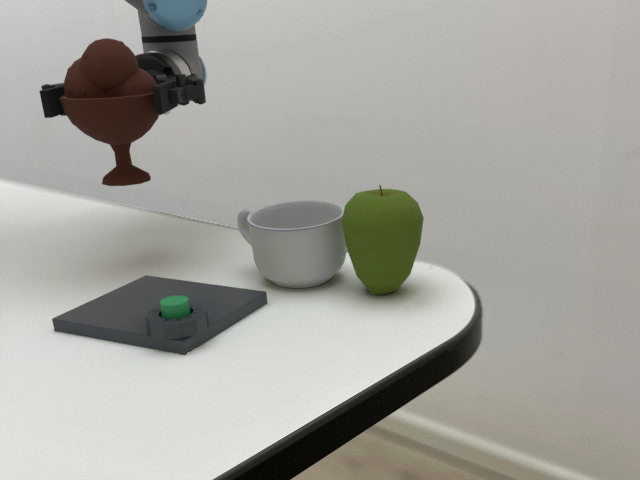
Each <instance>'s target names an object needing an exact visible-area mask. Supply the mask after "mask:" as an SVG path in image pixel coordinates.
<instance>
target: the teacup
mask: <svg viewBox="0 0 640 480" xmlns="http://www.w3.org/2000/svg"><path fill="white" fill-rule="evenodd" d="M344 208H345V206H343V205H342V204H339V203H337V202H335V201H330V200H327V199H326V200H324V199H314V198H313V199H303V198H301V199H291V200H283V201H278V202H274V203H270V204H266V205H264V206H260V207H257V206H253V205H251V206H245V207H244V208H242V209H241V210H240V211H239V213H238V215H237V218H236V219H237V227H238V230H239V233H240V234H241V236H242V238H243V239H244V240H245V242H247V243H248V244H249V245H250V246H251V250H252V255H253V260H254V264H255V266H256V269H257V270H258V272H259V274H261V275H262V276H263V277H265V279H268V280H269V281H271V282H272V283H273V284H275V285H277V286H279V287H282V288H287V289H307V288H312V287H317V286H321V285H323V284H324V283H326V282H328V281H330V280H331V279H332V278H333V276H334V275H335V274H336V273H338V272H339V271H340V270H341V269H342V267H343V266H344V263H345V262H346V261H345V260H346V256H347V247H346V243H345V238H344V233H343V227H342V222H341V221H342V217H343V213H344Z"/></svg>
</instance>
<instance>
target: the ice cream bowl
mask: <svg viewBox="0 0 640 480" xmlns="http://www.w3.org/2000/svg"><path fill="white" fill-rule="evenodd" d="M135 55H136V54H135V53H134V52H133V50H132V49H131V48H130V47H129V46H127V45H126V44H125V43H124V41H122V40H118V39H115V38H108V37H107V38H100V39H95V40H94V41H92V42H91V43H89V44H88V45H87V47H86V48H85V49H84V51H83V53H82V54H81V57H79V58H78V59H76V60H74V61H73V62H72V64H71V65H70V66H69V67H68V68H67V69H66V73H65V77H64V80H63V83H64V92H65V95H63V96H62V97H60V98H59V99H60V102H61V104H62V107H63V109H64V112H65V114H66V115H67V116H66V117H67V119H68V120H69V121H70V123H71V124H72V125H73V126H74V127H76V128H77V129H78V130H79V131H80V132H81V133H82V134H84V135H86V136H87V137H89V138H91V139H93V140H95V141H97V142H100V143H102V144H107V145H108V146H110V148H111V149H112V151H113V152H114V160H115V167H114V168H111V170H110V171H108V172H107V173H106V174H105V175H104V176H103V177H102V181H101V185H104V186H108V187H129V186H135V185H139V184H140V185H141V184H144V183H148V182H151V179H152V176H151V175H150V173H149V172H148V171H146V170H144V169H142V168H140V167H138V166H136V165H134V164H133V162H132V157H131V147H132V143H134V142H136V141H138V140H139V139H142V138H143V137H144V136H145V135H146V134H147V133H148V132H149V131H150V130H151V129H152V128H153V126H154V125H155V123H156V122H157V121H158V120H159V117H160V115H159V114H156V110H155V103H154V96H153V89H152V87H153V86H155V85H157V83H156V82H155V80H154V77H153V76H151V75H150V74H148V73H147V72H146V71H145V70H143V69H140V68H138V62H137V59H136V57H135Z"/></svg>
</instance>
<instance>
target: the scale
mask: <svg viewBox="0 0 640 480" xmlns="http://www.w3.org/2000/svg"><path fill="white" fill-rule="evenodd" d="M170 296H186V297H187V298H188V299H189V305H190V313H191V314H190V315H188V316H185V317H181V318H172V319H167V318H162V313H161V307H160V301H161V300H162V299H164V298H166V297H170ZM267 304H268V293H267V291H265V290H256V289H251V288H243V287H234V286H228V285H221V284H213V283H205V282H197V281H191V280H183V279H177V278H168V277H162V276H154V275H143V276H141V277H139V278H137V279H135V280H132V281H131V282H129V283H126V284H124V285H122V286H119V287H118V288H116V289H113V290H111V291H109V292H107V293H105V294H102V295H100V296H98V297H96V298H94V299H91V300H90V301H88V302H85V303H83V304H81V305H79V306H76V307H75V308H71V309H70V310H68V311H66V312H63V313H61V314H59V315H57V316H55V317H52V318H51V322H52V326H53V331H54V332H58V333H62V334H68V335H74V336H79V337H84V338H90V339H95V340H102V341H106V342H111V343H118V344H122V345H123V344H124V345H128V346H133V347H137V348H138V347H139V348H144V349H150V350H155V351H160V352H165V353H171V354H176V355H182V356H187V355H188V354H189V353H188V352H190V351H191V352H193V351H194V350H196V349H197V348H199V347H200V345H201V346H202V345H204V344H205V343H207V342H208V341H210V340H212V339H213V338H216V336H219V334H221V333H223V332H224V331H226V330H228V329H230V328H231V327H233V326H234V325H236V324H237V323H239V322H240V321H242V320H244V319H246V318H247V317H248V316H250V315H252V314H253V313H255V312H256V311H258V310H259V309H261V308H262V307H264V306H266V305H267ZM195 348H196V349H195ZM193 349H194V350H193ZM192 350H193V351H192ZM191 352H190V353H191ZM177 353H178V354H177ZM187 353H188V354H187Z"/></svg>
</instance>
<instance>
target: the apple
mask: <svg viewBox="0 0 640 480" xmlns="http://www.w3.org/2000/svg"><path fill="white" fill-rule="evenodd" d="M378 188H379V189H369V190H364V191H363V190H362V191H359V192H355V194H353V196H352V197H351V198H349V200H348V201H346V204H345V205H344V213H343V217H342V221H341V222H342V227H343V233H344V238H345V243H346V251H347V253H348V256H349V259H350V261H351V264H352V267H353V270H354V273H355V276H356V277H357V278H358V280H359V281H360V282H361V283H362V285H363V286H364V287H365V288H366V290H367V291H368V292H369V293H370V295H374V296H381V295H382V296H383V295H388V294H391V293H393V292H395V291H398V289H399V288H400V287H401V286H402V285H403V284H404V283H405V281H406V280H407V279H409V277H410V276H411V273H412V270H413V268H414V264H415V262H416V258H417V255H418V252H419V249H420V246H421V242H422V241H421V240H422V235H423V234H422V233H423V225H424V215H423V212H422V210H421V207H420V205H419V202H418V201H417V200H416V199H415V198H413V197H412V196H411V195H410V194H409V193H408V192H407V191H404V190H400V189H393V188H382V185H381V184H379V185H378Z"/></svg>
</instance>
